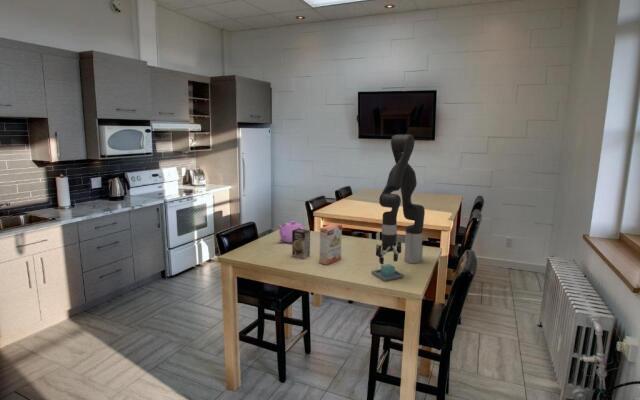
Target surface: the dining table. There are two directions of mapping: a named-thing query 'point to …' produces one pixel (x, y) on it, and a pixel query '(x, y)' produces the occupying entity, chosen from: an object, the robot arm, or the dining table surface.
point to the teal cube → (387, 270)
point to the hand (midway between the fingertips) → (388, 262)
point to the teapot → (288, 230)
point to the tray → (383, 278)
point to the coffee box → (301, 243)
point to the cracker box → (330, 243)
